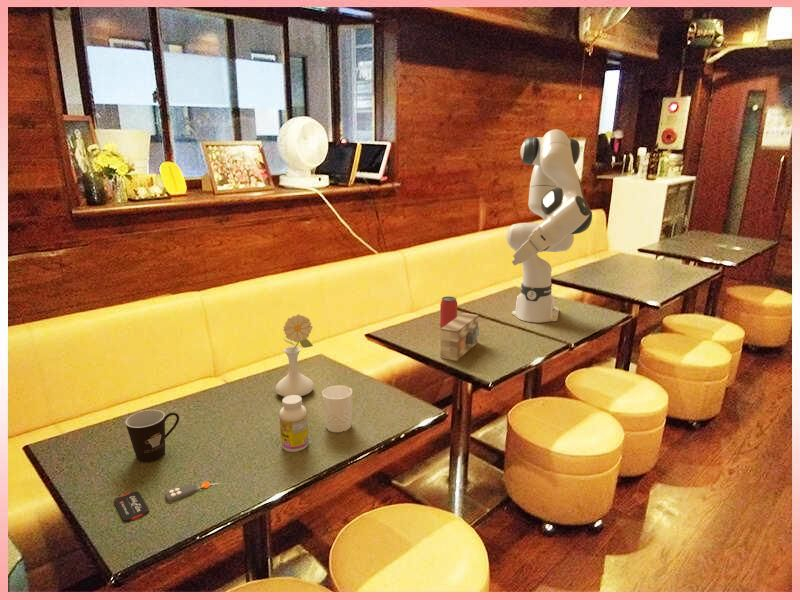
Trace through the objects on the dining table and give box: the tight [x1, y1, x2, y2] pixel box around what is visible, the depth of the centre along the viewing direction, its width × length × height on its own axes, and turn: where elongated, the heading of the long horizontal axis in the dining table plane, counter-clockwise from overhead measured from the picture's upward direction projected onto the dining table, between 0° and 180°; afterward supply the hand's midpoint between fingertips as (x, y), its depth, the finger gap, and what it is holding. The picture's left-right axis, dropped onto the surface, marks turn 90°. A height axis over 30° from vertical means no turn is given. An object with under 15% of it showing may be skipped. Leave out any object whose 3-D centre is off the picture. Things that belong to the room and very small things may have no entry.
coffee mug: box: [124, 409, 180, 464], centre depth 135 cm, size 12×9×10 cm
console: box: [440, 312, 479, 362], centre depth 197 cm, size 19×6×11 cm, turn 151°
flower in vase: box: [274, 313, 315, 398], centre depth 163 cm, size 13×11×25 cm
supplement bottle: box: [278, 395, 309, 453], centre depth 138 cm, size 7×7×13 cm
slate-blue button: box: [473, 326, 480, 337], centre depth 201 cm, size 3×3×3 cm
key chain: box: [164, 481, 222, 503], centre depth 123 cm, size 13×4×2 cm, turn 125°
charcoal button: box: [466, 333, 476, 345], centre depth 195 cm, size 3×3×3 cm
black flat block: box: [113, 491, 150, 523], centre depth 117 cm, size 10×1×5 cm
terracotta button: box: [458, 339, 465, 350], centre depth 190 cm, size 3×3×3 cm
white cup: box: [321, 384, 353, 433], centre depth 147 cm, size 8×8×10 cm
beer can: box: [439, 296, 458, 329], centre depth 218 cm, size 7×7×12 cm
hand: (514, 263), depth 189 cm, fingers closed
